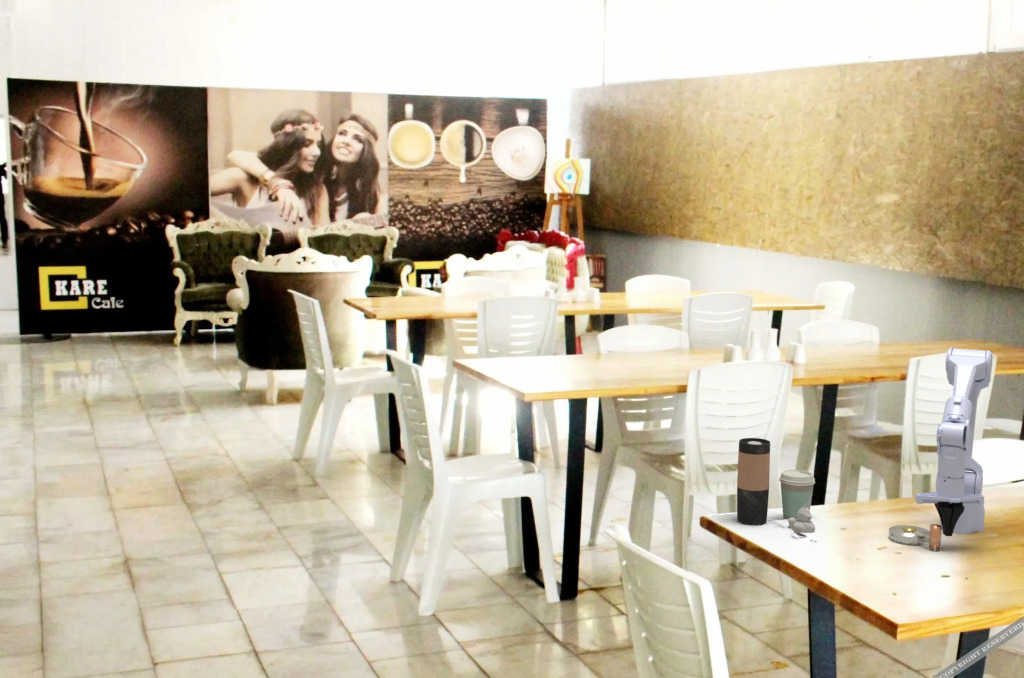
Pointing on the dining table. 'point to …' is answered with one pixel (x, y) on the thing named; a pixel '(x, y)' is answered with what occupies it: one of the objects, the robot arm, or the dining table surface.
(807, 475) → the coffee cup
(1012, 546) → the dining table surface
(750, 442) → the travel mug
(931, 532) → the dial
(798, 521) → the grey animal figurine
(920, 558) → the dining table surface
